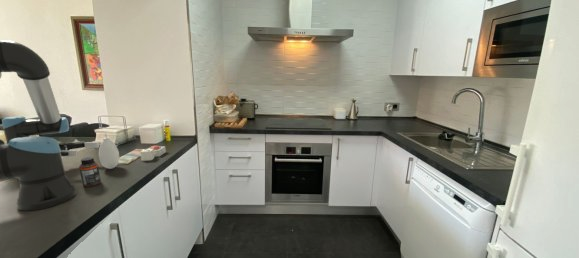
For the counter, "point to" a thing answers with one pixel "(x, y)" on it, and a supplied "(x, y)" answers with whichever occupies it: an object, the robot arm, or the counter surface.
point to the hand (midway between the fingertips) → (88, 148)
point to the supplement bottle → (89, 172)
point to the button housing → (159, 151)
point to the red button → (155, 147)
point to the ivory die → (147, 154)
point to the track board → (130, 157)
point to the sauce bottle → (108, 153)
